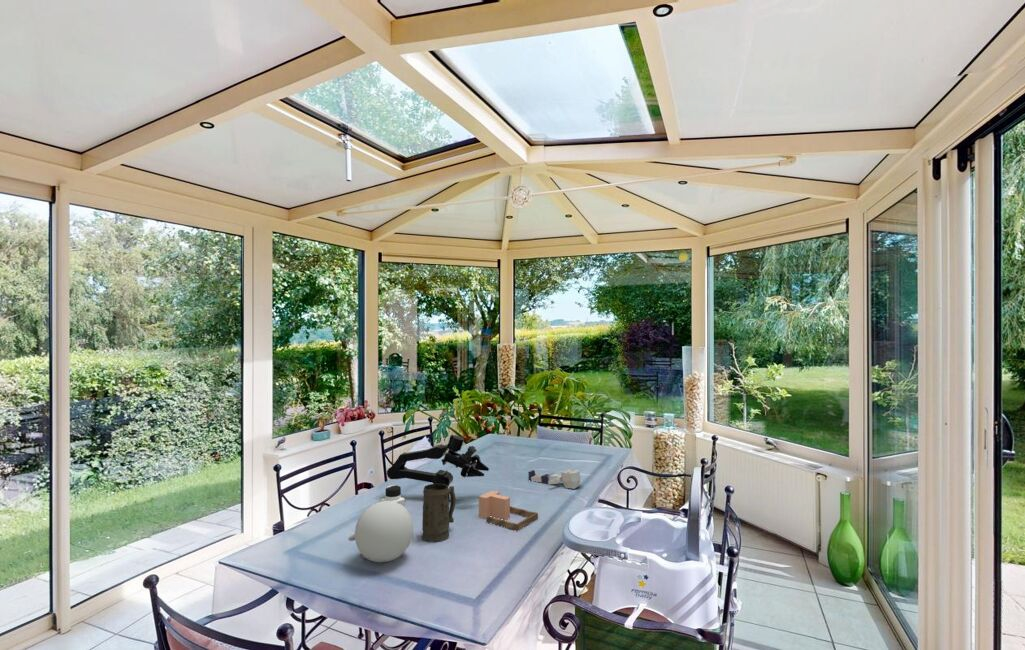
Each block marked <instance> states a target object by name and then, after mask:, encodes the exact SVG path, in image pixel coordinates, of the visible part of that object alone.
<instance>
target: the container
mask: <svg viewBox="0 0 1025 650" xmlns="http://www.w3.org/2000/svg"><path fill="white" fill-rule="evenodd" d="M401 489H402V487H401V486H399V485H396V484H395V485H394V484H392V485H388V486H386V487H385V492H384V493H385V497H384V498H381V499H380V502H383V501H392V502H396V503H399V504H401V505H402V506H404V507H405V508H406V498H404V497H401V495H402V493H401V491H402V490H401Z"/></svg>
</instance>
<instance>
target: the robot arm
mask: <svg viewBox="0 0 1025 650" xmlns="http://www.w3.org/2000/svg"><path fill="white" fill-rule="evenodd" d="M464 442H465V438H464V437H462V436H461V435H455V434H450V437H449V439H448V442H447V444H442V443H441V444H437V445H435V446H432V447H430V448H426V449H420V450H414V451H410V452H403V453H401V454H399V456H398V457H397V459H396V460H395V461H394V463H393V464H392V466H390V467H389V468H387V471H386V477H388V479H390V480H401V479H410V480H415V481H422V482H427V483H432V484H445V485H447V486H448V487H450V485H451V484H452V483H453V481H454V476H453V474H452V473H451V472H450V471H449V470H443V469H439V470H438V471H436V472H431V471H424V470H419V469H413V468H412V469H411V468H407V467H406V464H407V462H410V461H417V460H418V461H419V460H422V459H430V460H438V459H440V460H441V462H442V466H445V465H447V463H448V464H451V465H453V466H455V468H456V469H458V468H460V469H461V471H460V476H461V477H463V478H470V477H471V478H472V477H473V478H474V477H485V473H483V472H482V471H486V472H488V471H490V468H489V467H488V466H487V465H485V463H483V462H482V461H481V456H480V455H478V454H476V452H478V451H477V448H476V447H475V446H473V445H470V446H468V447H467V450H466V452H465V453H463V452H462V453H461V454H460V453H458V452H459V451H461V449H462V448H463V447H462V446H463V444H464ZM442 457H443V458H442ZM448 501H449V502H450V494H448Z"/></svg>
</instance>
